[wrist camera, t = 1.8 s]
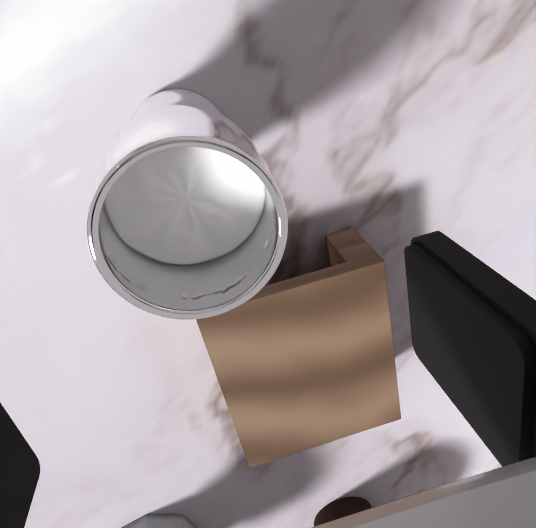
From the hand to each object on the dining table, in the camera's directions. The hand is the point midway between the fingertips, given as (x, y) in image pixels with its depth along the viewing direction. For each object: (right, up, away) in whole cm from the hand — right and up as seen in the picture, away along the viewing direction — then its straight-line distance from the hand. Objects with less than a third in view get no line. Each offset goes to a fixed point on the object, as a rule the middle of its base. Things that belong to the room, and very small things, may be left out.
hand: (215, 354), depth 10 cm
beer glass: (-4, +10, +18) cm, 21 cm away
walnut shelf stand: (+3, -3, +26) cm, 27 cm away
